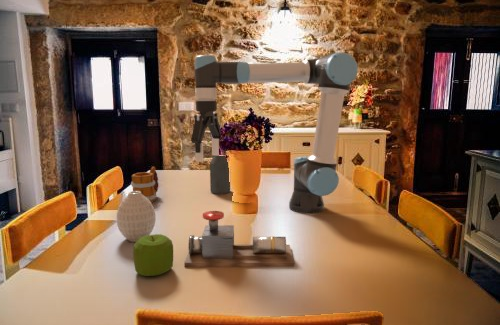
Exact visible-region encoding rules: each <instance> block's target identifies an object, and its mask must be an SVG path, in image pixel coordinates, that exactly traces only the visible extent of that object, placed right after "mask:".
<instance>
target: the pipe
mask: <svg viewBox="0 0 500 325" xmlns="http://www.w3.org/2000/svg"><path fill="white" fill-rule="evenodd" d="M252 245H253V253H271V254H274V253H286V245H287V237H286V236H252Z"/></svg>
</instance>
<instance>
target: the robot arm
mask: <svg viewBox="0 0 500 325" xmlns="http://www.w3.org/2000/svg"><path fill="white" fill-rule="evenodd" d="M358 71H359V68H358V62H357V61H356V60H355V58H354V56H352V55H351V54H349V53H347V52H334V53H332V54H328V55H324V56H320V57H317V58H312V59H311V58H310V59H309V58H308V59H304V60H303V61H299V62H297V61H295V62H270V63H268V62H267V63H265V62H264V63H249V62H247V61H217V58H216V56H215V55H209V54H202V55H197V56H195V58H194V81H195V84H194V86H195V87H194V88H195V90H194V93H195V99H196V101H195V110H196V112H199V114H195V115H194V122H193V123H194V124H193V130H192V132H191V133H192V134H191V139H190V140H191V143H192V144H194V151H195V152H194V156H195V162H196V163H197V162H198V163H203V162H204V144H203V143H204V142H203V139H204V137H205V132H206V130H207V129H208V130H209V132H210V134H211V137H212V138H211V156H214V155H216V156H219V139H218V138H221V134H222V131H221V126H220V122H219V117H218V113H217V109H218V106H217V105H218V104H217V103H218V102H217V98H218V96H217V95H218V94H217V93H218V92H217V84H224V85H238V84H239V85H240V84H241V85H242V84H267V83H293V82H296V83H299V82H302V83H303V84H304V85H309V84H312V85H318V87H317V89H318V90H319V91H320V93H321V94H320V100H319V107H318V114H317V119H316V126H315V127H316V128H315V133H314V138H313V145H312V152H311V155H309V156H297V157H295V158H294V161H293V162H294V163H293V192H292V194H291V198H290V200H289V204H288V208H289V210H291V211H293V212H294V213H295V212H296V213H300V214H318V213H321V212H323V211H324V210H325V203H324V200H323V199H324V198H323V196H325V197H326V196H329V195H330V194H332V193H333V192H335V190H336V189H337V188H338V186H339V183H340V182H339V181H340V178H339V175H338V173H337V164H338V161H337V160H336V159H335V154H336V153H335V152H336V147H337V140H338V135H339V130H340V129H339V128H340V124H341V123H340V122H341V117H342V111H343V105H344V99H345V95H347V94H348V93H350V88H351V83H352V82H353V81H354V80H356V78H357V75H358Z"/></svg>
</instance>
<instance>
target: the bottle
mask: <svg viewBox="0 0 500 325" xmlns="http://www.w3.org/2000/svg"><path fill="white" fill-rule="evenodd" d="M209 174H210V175H209V180H210V181H209V182H210V187H209V188H210V192H211V193H212V194H214V195H226V194H229V193H230V192H231V181H230V182H229V168H228V162H227V159H226V158H225V156H216V155H213V157H212V159H211V160H210V162H209Z"/></svg>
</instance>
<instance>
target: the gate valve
mask: <svg viewBox="0 0 500 325" xmlns="http://www.w3.org/2000/svg"><path fill="white" fill-rule="evenodd" d="M224 217H225V214H224V212H223V211H220V210H209V211H205V212H204V213H202V219H204V220H206V221H208V225H205V226H204V228H203V231H202V235H201V236H195V235H194V234H191V235H189V239H188V252H189V255H193V254H194V253H202V255H203V259H223V260H233V249H234V245H235V226H234V224H233V225H232V224H231V225H230V224H229V225H228V224H227V225H225V224H224V225H219V220H222V219H223V218H224Z"/></svg>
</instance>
